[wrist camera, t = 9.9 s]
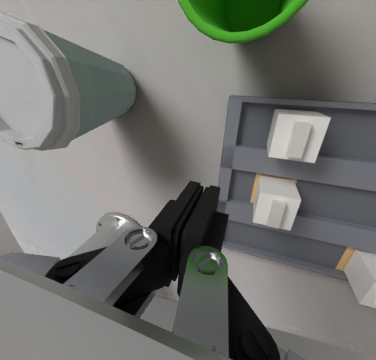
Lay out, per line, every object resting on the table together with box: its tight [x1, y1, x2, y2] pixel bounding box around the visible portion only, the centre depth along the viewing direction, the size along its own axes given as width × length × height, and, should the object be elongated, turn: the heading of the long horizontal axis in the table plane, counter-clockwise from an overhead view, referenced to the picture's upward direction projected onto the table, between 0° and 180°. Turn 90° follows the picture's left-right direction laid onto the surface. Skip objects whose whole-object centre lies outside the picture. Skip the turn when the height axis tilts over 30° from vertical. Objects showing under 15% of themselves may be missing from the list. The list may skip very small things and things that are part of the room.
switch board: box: [217, 95, 376, 280], centre depth 24 cm, size 22×26×2 cm
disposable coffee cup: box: [0, 12, 136, 151], centre depth 21 cm, size 11×11×15 cm
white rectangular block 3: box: [267, 109, 331, 163], centre depth 19 cm, size 4×4×6 cm
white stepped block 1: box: [253, 175, 301, 231], centre depth 22 cm, size 4×4×6 cm
